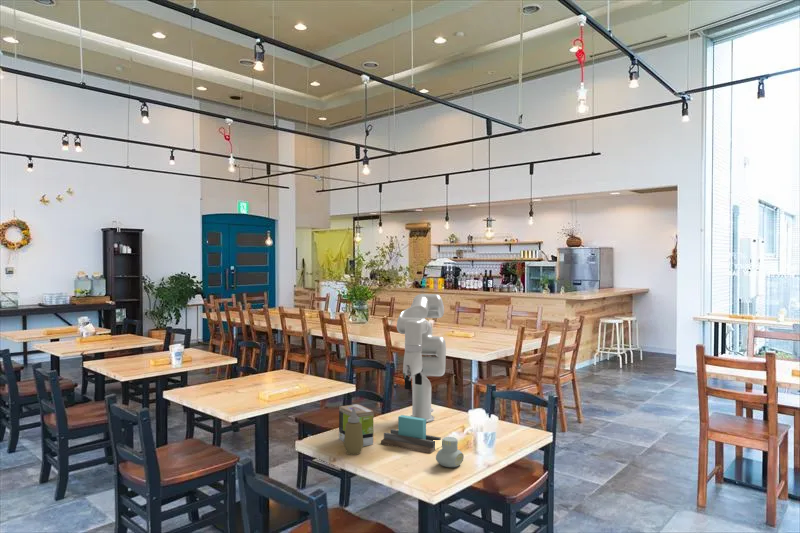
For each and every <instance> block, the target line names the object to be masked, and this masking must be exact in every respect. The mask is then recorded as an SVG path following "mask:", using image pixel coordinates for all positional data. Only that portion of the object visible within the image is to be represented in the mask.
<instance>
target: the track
mask: <svg viewBox="0 0 800 533" xmlns="http://www.w3.org/2000/svg"><path fill="white" fill-rule="evenodd" d="M433 440H441V437H440V436H435V435H429V434H426V440H425V439H420V438H414V437H408V436H403V435H398V429H395V428H391V429H390V432H386V431H385V432H384V433H383V439H380V444H381V445H384V446H385V445H386V446H390V447H395V448H401V449H406V450H410V451H411V450H412V451H417V452H422V453H427V454H433V453H434V452H435V451H436V450H435V441H433ZM441 441H442V440H441Z"/></svg>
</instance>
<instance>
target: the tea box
mask: <svg viewBox="0 0 800 533" xmlns="http://www.w3.org/2000/svg"><path fill="white" fill-rule="evenodd" d="M338 408H339V410H338V413H339V414H338V416H339V417H338V439H339V440H340V441H342V442H343V443H344V437H345V428H346V423H348V418H349V417H351V413H352V409H353V408H355V410H356V415H357V417H359V422H360V423H361V424H362V433H363V447H366V446H372V445H374V415H375V414H374V412H375V411H374V410H372V409H370V408H368V407H366V406H363V405H361V404H359V403H357V404H349V405H348V404H347V405H341V406H339V407H338Z"/></svg>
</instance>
